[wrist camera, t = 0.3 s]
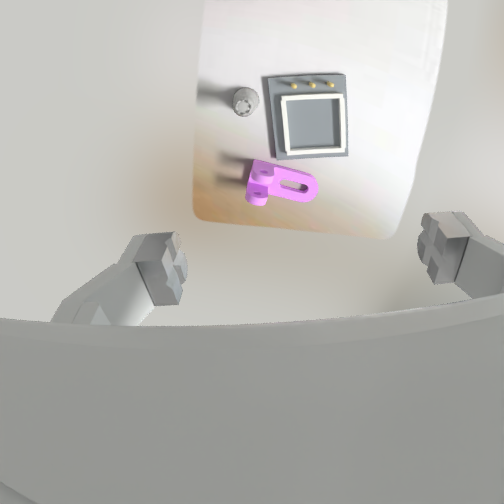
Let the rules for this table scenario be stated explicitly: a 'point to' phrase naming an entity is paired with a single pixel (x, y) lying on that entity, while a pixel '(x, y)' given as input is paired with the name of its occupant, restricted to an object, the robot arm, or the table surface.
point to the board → (309, 116)
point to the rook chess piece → (245, 101)
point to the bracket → (277, 183)
